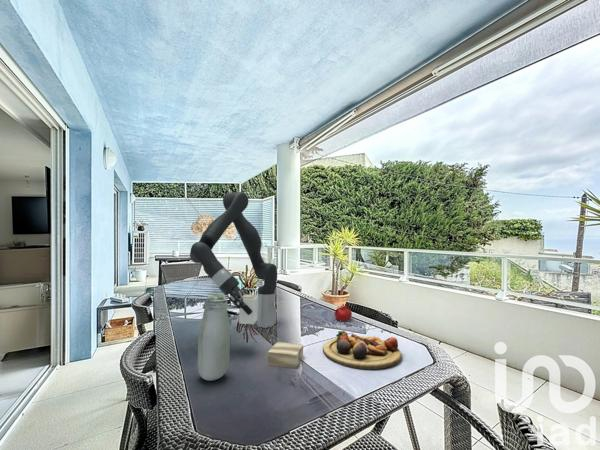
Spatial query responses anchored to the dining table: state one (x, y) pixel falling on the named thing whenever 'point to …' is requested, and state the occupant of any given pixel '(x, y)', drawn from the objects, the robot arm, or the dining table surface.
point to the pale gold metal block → (285, 355)
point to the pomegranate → (343, 313)
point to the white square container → (253, 305)
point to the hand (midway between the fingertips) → (252, 311)
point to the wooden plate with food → (362, 351)
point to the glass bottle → (214, 338)
